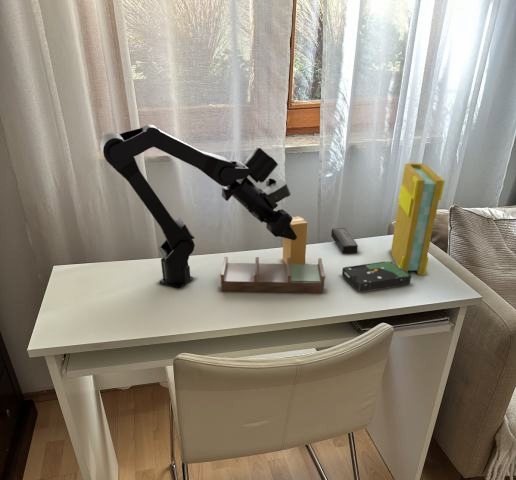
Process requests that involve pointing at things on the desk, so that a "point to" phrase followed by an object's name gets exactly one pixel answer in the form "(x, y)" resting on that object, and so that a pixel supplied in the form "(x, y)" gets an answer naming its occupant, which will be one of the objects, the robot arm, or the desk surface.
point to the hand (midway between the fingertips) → (289, 232)
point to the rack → (272, 277)
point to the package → (296, 242)
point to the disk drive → (375, 276)
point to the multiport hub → (344, 240)
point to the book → (416, 217)
